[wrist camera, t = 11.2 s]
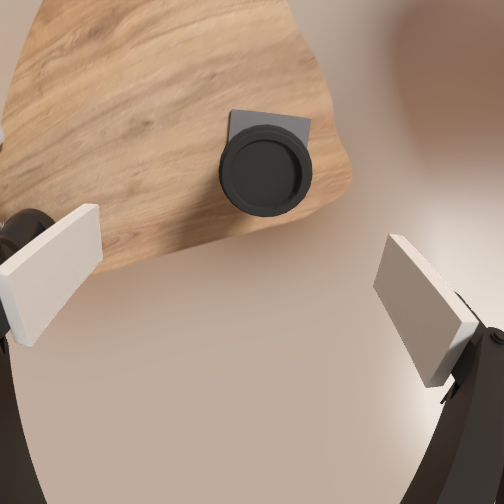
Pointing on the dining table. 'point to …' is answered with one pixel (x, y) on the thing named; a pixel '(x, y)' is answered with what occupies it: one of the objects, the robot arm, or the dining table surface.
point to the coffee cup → (265, 170)
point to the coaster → (251, 118)
